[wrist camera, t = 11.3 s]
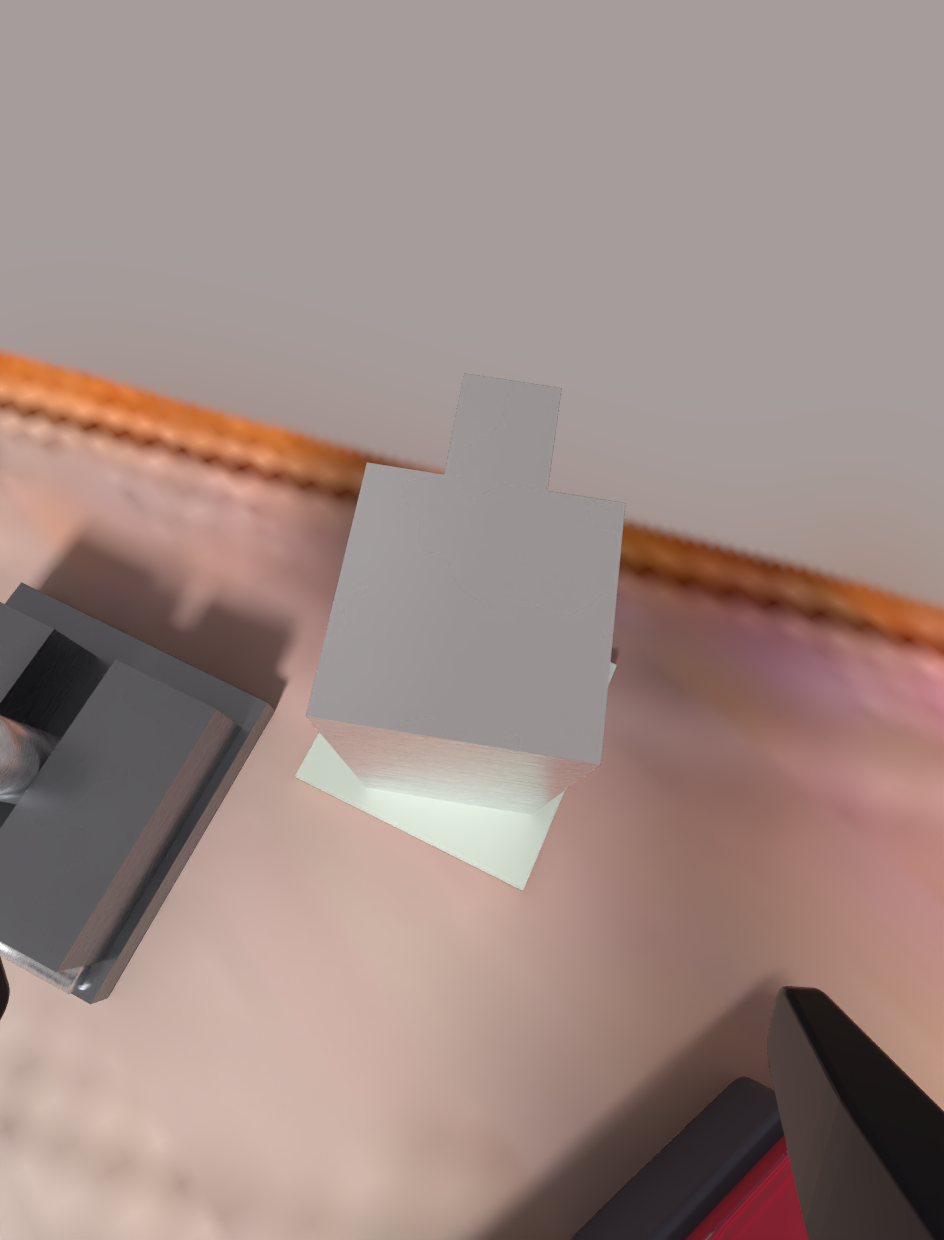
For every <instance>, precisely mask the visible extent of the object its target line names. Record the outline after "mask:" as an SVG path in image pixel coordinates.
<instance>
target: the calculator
mask: <svg viewBox="0 0 944 1240" xmlns="http://www.w3.org/2000/svg"><path fill="white" fill-rule="evenodd" d="M571 1240H809V1238H808V1235H807V1232H806V1228H805V1225H804V1220H803V1216H802V1212H801V1208H800V1204H799V1199H798V1195H797V1191H796V1186H795V1181H794V1177H793V1172H792V1168H791V1163H790V1159H789V1154H788V1149H787V1145H786V1140H785V1136H784V1131H783V1127H782V1122H781V1117H780V1113H779V1108H778V1104H777V1099H776V1095H775V1091H773V1090H771V1089H769V1088H768V1087H766V1086H764V1085H762V1084H760V1083H758V1082H756V1081H754V1080H752V1079H750V1078H746V1077H742V1078H739V1079H736V1080H735V1081H734V1082H733V1083H731V1084H730V1085H729V1086H728V1087H727V1088H726V1089H725V1090H724V1091H723V1092H722V1093H721V1094H720V1095H719V1096H718V1097H717V1098H716V1099H715V1100H713V1101H712V1102H711V1103H710V1104H709V1105H708V1106H707V1107H706V1108H705V1109H704V1110H703V1111H702V1112H701V1113H700V1114H699V1115H698V1116H697V1117H696V1118H695V1119H694V1120H693V1121H692V1122H691V1123H689V1124H688V1125H687V1126H686V1127H685V1128H684V1129H683V1130H682V1131H681V1132H680V1133H679V1134H678V1135H677V1136H676V1137H675V1138H674V1139H673V1140H672V1141H671V1142H670V1143H669V1144H668V1145H667V1146H666V1147H664V1148H663V1149H662V1150H661V1151H660V1152H659V1153H658V1154H657V1155H656V1156H655V1157H654V1158H653V1159H652V1160H651V1161H650V1162H649V1163H648V1164H647V1165H646V1166H645V1167H644V1168H643V1169H642V1170H641V1171H640V1172H639V1173H638V1174H636V1175H635V1176H634V1177H633V1178H632V1179H631V1180H630V1181H629V1182H628V1183H627V1184H626V1185H625V1186H624V1187H623V1188H622V1189H621V1190H620V1191H619V1192H618V1193H617V1194H616V1195H615V1196H614V1197H613V1198H612V1199H611V1200H610V1201H609V1202H608V1203H607V1204H606V1205H604V1206H603V1207H602V1208H601V1209H600V1210H599V1211H598V1212H597V1213H596V1214H595V1215H594V1216H593V1217H592V1218H591V1219H590V1220H589V1221H588V1222H587V1223H586V1224H585V1225H584V1226H583V1228H582V1229H581V1230H580V1231H579V1232H578V1233H577V1234H576V1235H575V1236H574V1237H573V1238H572V1239H571Z"/></svg>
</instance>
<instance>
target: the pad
mask: <svg viewBox="0 0 944 1240" xmlns="http://www.w3.org/2000/svg"><path fill="white" fill-rule="evenodd" d="M616 667H617V665H616V664H614V663H611V662H610V673H609V683H610V681H611V679H612V676H613V674H614V671H615V669H616ZM608 686H609V684H608ZM295 777H296V778H298V779H299V780H301V781H303V782H306V783H308V784H310V785H312V786H314V787H316V788H318V789H320V790H322V791H324V792H326V793H328V794H330V795H332V796H334V797H336V798H338V799H340V800H342V801H344V802H346V803H348V804H350V805H352V806H354V807H356V808H358V809H360V810H362V811H364V812H366V813H368V814H370V815H372V816H374V817H376V818H378V819H380V820H382V821H384V822H386V823H388V824H390V825H392V826H394V827H396V828H398V829H400V830H402V831H404V832H406V833H408V834H410V835H412V836H414V837H416V838H418V839H420V840H422V841H424V842H426V843H428V844H430V845H432V846H434V847H436V848H438V849H440V850H442V851H444V852H446V853H448V854H450V855H452V856H454V857H456V858H458V859H460V860H462V861H464V862H466V863H468V864H470V865H472V866H474V867H476V868H478V869H480V870H482V871H484V872H486V873H488V874H490V875H492V876H494V877H496V878H498V879H500V880H502V881H504V882H506V883H508V884H510V885H512V886H514V887H516V888H518V889H520V890H524V887H525V885H526V882H527V880H528V878H529V875H530V873H531V870H532V868H533V866H534V863H535V861H536V858H537V856H538V854H539V851H540V849H541V846H542V844H543V842H544V839H545V837H546V834H547V832H548V830H549V827H550V825H551V822H552V820H553V818H554V815H555V813H556V810H557V808H558V806H559V803H560V801H561V798H562V796H563V794H564V792H562V793H561V794H559V795H558V796H557V797H555V798H554V799H553V800H551V801H550V802H548V803H547V804H546V805H544V806H543V807H542V808H540V809H539V810H537V811H536V812H535V813H533V814H532V815H529V814H523V813H517V812H511V811H504V810H498V809H492V808H486V807H480V806H474V805H468V804H462V803H456V802H450V801H444V800H438V799H432V798H426V797H420V796H414V795H408V794H402V793H395V792H389V791H383V790H377V789H371V788H366V787H365V786H364V785H363V783H362V782H361V781H360V780H359V779H358V777H357V776H356V775H355V774H354V773H353V772H352V770H351V769H350V768H349V767H348V766H347V764H346V763H345V762H344V761H343V760H342V758H341V757H340V756H339V755H338V754H337V753H336V751H335V750H334V749H333V748H332V747H331V745H330V744H329V743H328V742H327V741H326V740H325V738H324V737H323V736H322V735H321V734H320V732H319V734H318V736H317V737H316V739H315V741H314V743H313V745H312V746H311V748H310V750H309V752H308V754H307V755H306V757H305V759H304V761H303V763H302V765H301V766H300V768H299V770H298V772H297V774H296V775H295Z"/></svg>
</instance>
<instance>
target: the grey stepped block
mask: <svg viewBox="0 0 944 1240" xmlns="http://www.w3.org/2000/svg"><path fill="white" fill-rule="evenodd" d="M560 396H561V388H557V387H550V386H544V385H538V384H531V383H525V382H518V381H512V380H505V379H499V378H492V377H486V376H480V375H473V374H467V373H464V376H463V381H462V386H461V391H460V397H459V401H458V406H457V412H456V417H455V422H454V427H453V432H452V437H451V442H450V447H449V452H448V457H447V462H446V468H445V473H444V474H437V473H431V472H425V471H418V470H412V469H406V468H399V467H393V466H387V465H380V464H374V463H367V464H366V468H365V473H364V477H363V481H362V485H361V489H360V493H359V497H358V502H357V506H356V510H355V514H354V518H353V522H352V526H351V531H350V535H349V539H348V543H347V547H346V551H345V556H344V560H343V564H342V568H341V572H340V576H339V580H338V585H337V589H336V593H335V597H334V601H333V605H332V609H331V614H330V618H329V622H328V626H327V630H326V634H325V639H324V643H323V647H322V651H321V655H320V659H319V663H318V668H317V672H316V676H315V680H314V684H313V688H312V693H311V697H310V701H309V705H308V709H307V713H306V717H307V718H308V719H309V721H310V722H311V723H312V724H313V725H314V726H315V728H316V729H317V730H318V731H319V732H320V734H321V735H322V736H323V737H324V738H325V740H326V741H327V742H328V743H329V744H330V745H331V747H332V748H333V749H334V750H335V751H336V753H337V754H338V755H339V756H340V757H341V758H342V760H343V761H344V762H345V763H346V764H347V766H348V767H349V768H350V769H351V770H352V772H353V773H354V774H355V775H356V776H357V777H358V779H359V780H360V781H361V782H362V783H363V785H364V786H365V787H366V788H371V789H377V790H383V791H389V792H395V793H402V794H408V795H414V796H420V797H426V798H432V799H438V800H444V801H450V802H456V803H462V804H468V805H474V806H480V807H486V808H492V809H498V810H504V811H511V812H517V813H523V814H529V815H532V814H533V813H535V812H536V811H537V810H539V809H540V808H542V807H543V806H544V805H546V804H547V803H548V802H550V801H551V800H553V799H554V798H555V797H557V796H558V795H559V794H561V793H562V792H564V791H565V790H566V789H568V788H569V787H571V786H572V785H573V784H575V783H576V782H577V781H579V780H580V779H582V778H583V777H584V776H586V775H587V774H588V773H590V772H591V771H593V770H594V769H595V768H597V767H598V766H600V765H601V758H602V748H603V737H604V726H605V716H606V705H607V694H608V684H609V673H610V662H611V652H612V641H613V630H614V619H615V609H616V598H617V587H618V577H619V566H620V555H621V545H622V534H623V523H624V513H625V503H622V502H615V501H609V500H603V499H597V498H590V497H584V496H577V495H570V494H565V493H558V492H551V491H548V484H549V476H550V469H551V461H552V454H553V447H554V440H555V432H556V425H557V418H558V411H559V403H560Z"/></svg>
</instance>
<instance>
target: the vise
mask: <svg viewBox="0 0 944 1240" xmlns="http://www.w3.org/2000/svg"><path fill="white" fill-rule="evenodd" d="M274 711H275V710H274V709H273V708H272V707H271V706H270V705H269V704H268V703H267V702H265V701H263V700H261V699H259V698H257V697H255V696H253V695H251V694H249V693H247V692H244V691H242V690H240V689H238V688H236V687H234V686H232V685H230V684H228V683H226V682H224V681H222V680H220V679H218V678H216V677H214V676H212V675H210V674H208V673H206V672H204V671H202V670H199V669H197V668H195V667H193V666H191V665H189V664H187V663H185V662H183V661H181V660H179V659H177V658H175V657H173V656H171V655H169V654H167V653H165V652H163V651H161V650H159V649H157V648H154V647H152V646H150V645H148V644H146V643H144V642H142V641H140V640H138V639H136V638H134V637H132V636H130V635H128V634H126V633H124V632H122V631H120V630H118V629H116V628H114V627H112V626H109V625H107V624H105V623H103V622H101V621H99V620H97V619H95V618H93V617H91V616H89V615H87V614H85V613H83V612H81V611H79V610H77V609H75V608H73V607H71V606H69V605H67V604H64V603H62V602H60V601H58V600H56V599H54V598H52V597H50V596H48V595H46V594H44V593H42V592H40V591H38V590H36V589H34V588H32V587H30V586H28V585H26V584H24V583H22V582H21V584H20V585H19V586H18V588H17V589H16V590H15V592H14V593H13V594H12V595H11V597H10V598H9V599H8V601H7V602H6V603H5V604H3V603H1V602H0V956H1V957H3V958H5V959H7V960H9V961H10V962H12V963H14V964H16V965H17V966H19V967H21V968H23V969H25V970H26V971H28V972H30V973H32V974H33V975H35V976H37V977H39V978H41V979H42V980H44V981H46V982H48V983H49V984H51V985H53V986H55V987H57V988H58V989H60V990H62V991H64V992H66V993H67V994H70V993H71V994H73V995H75V996H77V997H79V998H80V999H82V1000H84V1001H86V1002H87V1003H89V1004H93V1003H95V1002H98V1001H101V1000H104V999H107V998H108V996H109V995H110V993H111V991H112V989H113V988H114V986H115V984H116V982H117V981H118V979H119V977H120V976H121V974H122V972H123V970H124V969H125V967H126V965H127V964H128V962H129V960H130V958H131V957H132V955H133V953H134V952H135V950H136V948H137V946H138V945H139V943H140V941H141V940H142V938H143V936H144V934H145V933H146V931H147V929H148V928H149V926H150V924H151V922H152V921H153V919H154V917H155V915H156V914H157V912H158V910H159V909H160V907H161V905H162V903H163V902H164V900H165V898H166V897H167V895H168V893H169V891H170V890H171V888H172V886H173V885H174V883H175V881H176V879H177V878H178V876H179V874H180V873H181V871H182V869H183V867H184V866H185V864H186V862H187V861H188V859H189V857H190V855H191V854H192V852H193V850H194V848H195V847H196V845H197V843H198V842H199V840H200V838H201V836H202V835H203V833H204V831H205V830H206V828H207V826H208V824H209V823H210V821H211V819H212V818H213V816H214V814H215V812H216V811H217V809H218V807H219V806H220V804H221V802H222V800H223V799H224V797H225V795H226V793H227V792H228V790H229V788H230V787H231V785H232V783H233V781H234V780H235V778H236V776H237V775H238V773H239V771H240V769H241V768H242V766H243V764H244V763H245V761H246V759H247V757H248V756H249V754H250V752H251V751H252V749H253V747H254V745H255V744H256V742H257V740H258V739H259V737H260V735H261V733H262V732H263V730H264V728H265V726H266V725H267V723H268V721H269V720H270V718H271V716H272V714H273V713H274Z"/></svg>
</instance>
